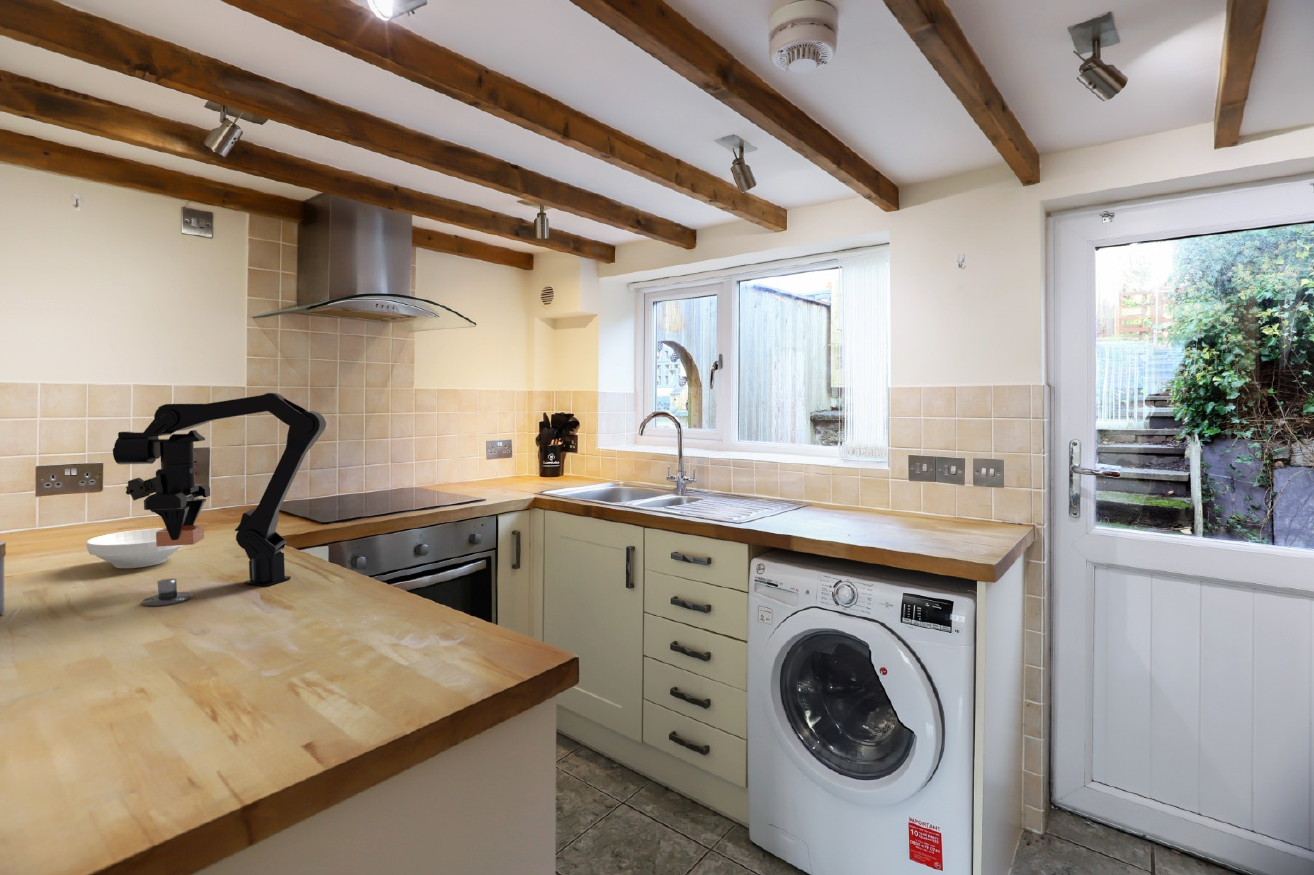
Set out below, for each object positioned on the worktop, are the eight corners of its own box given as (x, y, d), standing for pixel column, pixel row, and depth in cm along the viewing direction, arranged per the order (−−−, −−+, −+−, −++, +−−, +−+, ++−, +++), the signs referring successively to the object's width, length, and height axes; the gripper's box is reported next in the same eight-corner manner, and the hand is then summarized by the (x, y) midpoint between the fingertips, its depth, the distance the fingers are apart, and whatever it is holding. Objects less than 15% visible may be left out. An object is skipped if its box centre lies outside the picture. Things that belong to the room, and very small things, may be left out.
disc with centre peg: (202, 596, 134) (201, 576, 133) (162, 608, 126) (161, 587, 126) (172, 592, 136) (171, 573, 136) (132, 604, 128) (131, 584, 128)
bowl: (64, 574, 151) (62, 543, 150) (144, 554, 170) (142, 526, 170) (137, 577, 148) (135, 546, 147) (210, 557, 167) (208, 529, 166)
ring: (204, 538, 143) (203, 524, 143) (193, 544, 137) (192, 530, 137) (169, 540, 141) (168, 526, 141) (156, 546, 135) (155, 532, 135)
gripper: (150, 460, 145) (154, 530, 145) (110, 469, 127) (114, 549, 128) (209, 459, 148) (212, 527, 149) (178, 467, 130) (181, 545, 131)
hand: (181, 536), depth 139 cm, fingers closed on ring, 6 cm apart
